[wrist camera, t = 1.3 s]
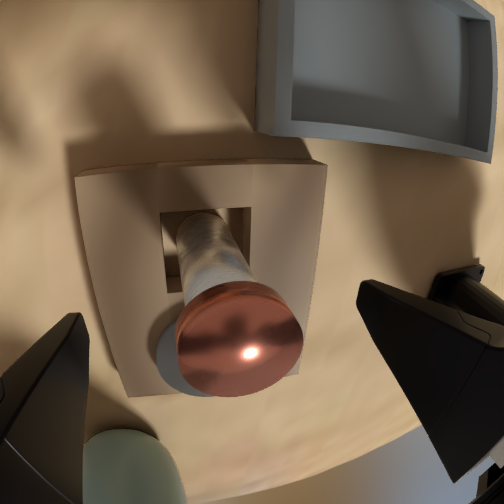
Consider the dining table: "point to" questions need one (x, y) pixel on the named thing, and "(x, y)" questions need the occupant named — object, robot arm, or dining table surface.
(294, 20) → the tray
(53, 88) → the dining table surface
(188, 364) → the lock pin
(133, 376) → the block
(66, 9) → the dining table surface
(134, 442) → the cup
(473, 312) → the robot arm
